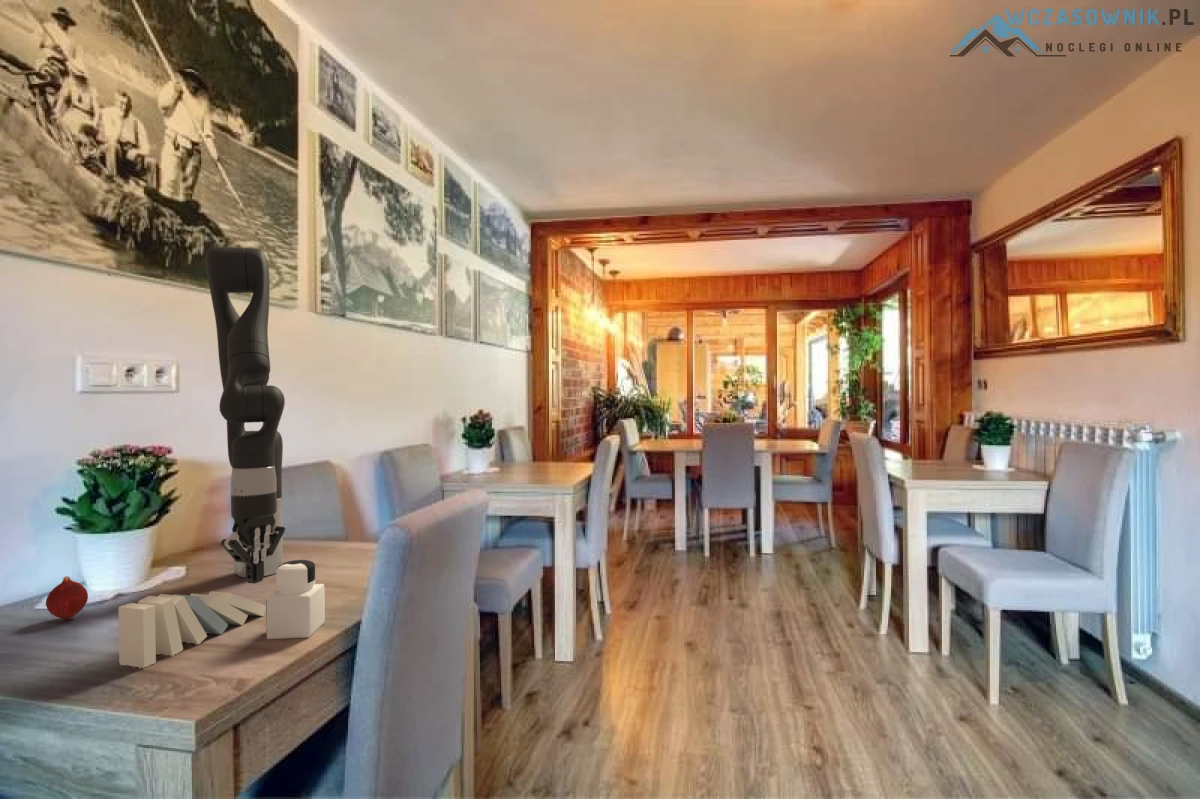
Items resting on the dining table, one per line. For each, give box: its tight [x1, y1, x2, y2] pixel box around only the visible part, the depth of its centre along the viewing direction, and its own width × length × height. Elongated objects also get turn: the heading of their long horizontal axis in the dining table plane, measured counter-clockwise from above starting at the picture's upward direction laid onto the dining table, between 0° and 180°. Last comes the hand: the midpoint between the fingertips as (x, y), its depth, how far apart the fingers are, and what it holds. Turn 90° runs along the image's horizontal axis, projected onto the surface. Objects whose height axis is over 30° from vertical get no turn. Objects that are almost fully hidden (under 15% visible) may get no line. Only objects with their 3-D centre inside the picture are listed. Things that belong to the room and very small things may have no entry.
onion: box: [45, 576, 89, 621], centre depth 110 cm, size 6×6×8 cm
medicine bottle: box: [265, 559, 326, 640], centre depth 104 cm, size 7×7×12 cm
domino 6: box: [208, 590, 266, 617], centre depth 109 cm, size 5×2×9 cm
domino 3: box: [157, 593, 208, 645], centre depth 98 cm, size 5×2×9 cm, turn 74°
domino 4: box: [173, 593, 229, 635], centre depth 101 cm, size 5×2×9 cm
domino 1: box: [118, 602, 157, 667], centre depth 91 cm, size 5×2×9 cm, turn 75°
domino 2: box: [137, 595, 184, 657], centre depth 95 cm, size 5×2×9 cm, turn 74°
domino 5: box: [189, 592, 249, 626], centre depth 105 cm, size 5×2×9 cm
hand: (255, 581), depth 113 cm, fingers closed
